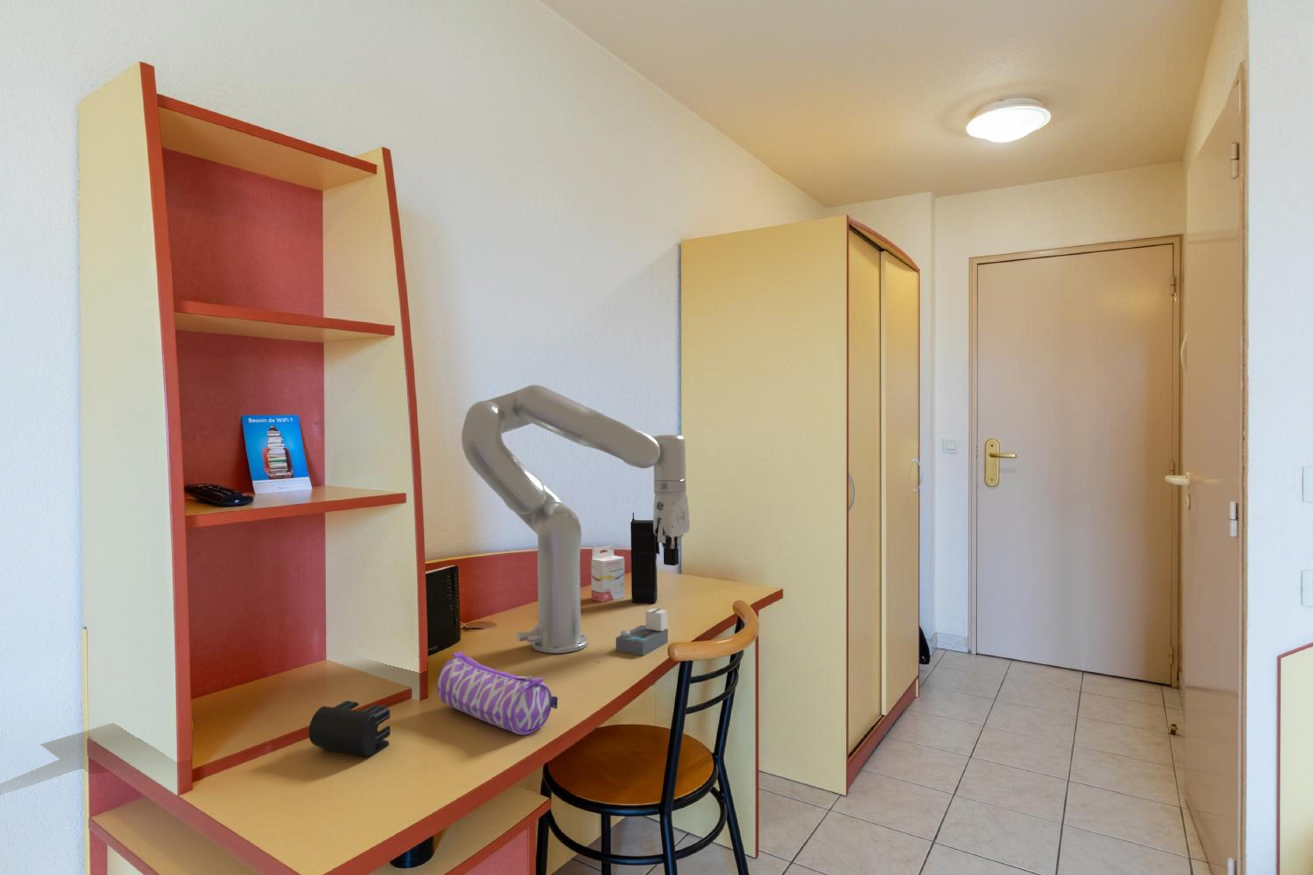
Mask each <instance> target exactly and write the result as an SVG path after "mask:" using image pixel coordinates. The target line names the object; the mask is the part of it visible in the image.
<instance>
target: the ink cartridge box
mask: <svg viewBox="0 0 1313 875" xmlns="http://www.w3.org/2000/svg"><path fill="white" fill-rule="evenodd" d="M603 550H604V551H605V552H602V551H603ZM590 563H591V566H590V567H591V572H590V573H591V576H590V577H591V579H590V580H591V586H590V587H591V600H593V601H596V602H599V603H606V602H610V601H614V600H619V598H620V599H623V598H622V597H624V598H625V556H619V555H615V545H613V544H612V545H606V546H598V547H593V548H592V549H591V562H590ZM605 601H606V602H605Z"/></svg>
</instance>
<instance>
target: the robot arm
mask: <svg viewBox="0 0 1313 875" xmlns="http://www.w3.org/2000/svg"><path fill="white" fill-rule="evenodd" d="M533 424H534V425H536V426H538V427H540V428H542V429H545V430H547V431H549V432H552V433H553V434H555V435H558V436H560V437H562V438H564V439H567V440H569V441H571V442H574V443H576V444H578V445H581V446H584V447H587V448H592V449H595V450H598V451H601V452H603V453H606V454H608V455H611V456H614V457H615V458H618V459H620V460H622V461H623V462H624V463H625V464H627V465H628V466H631V467H636V468H639V469H648V468H651V467H653V492H654V501H653V502H654V503H653V513H652V514H653V515H652V516H653V517H652V518H653V519H652V520H653V528H654V534H655V535H656V536H658V539H657V541H658V542H659V544H660V543H661V546H662V551H663V552H662V553H663V565H664V566H677V565H679V563H680V562H679V561H680V560H679V558H680V556H679V554H680V553H679V552H680V551H679V547H680V542H681V538H682V537H684V535H685V534H687V533H688V532H689V531H690V512H689V502H688V496H687V485H686V484H687V479H686V478H687V477H686V476H687V475H686V472H687V470H686V469H687V468H686V440H685V437H684V436H683V435H680V434H659V435H656V436H655V435H649V434H647V433H645V432H643V431H641V430H638V429H636V428H634V427H632V426H630V425H627V424H625V423H623V422H621V421H618V420H616V419H614V418H611V417H610V416H607V415H605V414H603V413H601V412H599V411H597V410H594V409H592V408H591V407H589V406H586V405H584V404H581V403H579V402H578V401H575V400H573V399H571V398H569V397H566V396H564V395H562V394H560V393H558V392H556V391H553V390H552V389H549V388H547V387H545V386H542V385H539V384H531V385H527V386H525V387H523V388H521V389H520V388H519V389H517V390H514V391H512V392H509V393H506V394H503V395H500V396H496V397H493V398H490V399H486V400H480V401H477V402H475V403H474V404H472V405H471V406H470V407H469V409H468V410H467V413H466V415H465V418H464V422H463V426H462V431H461V446H462V451H463V453H464V456H465V459H466V460H467V462H468V463H469V465H470V466H471V467H472V469H473V471H474V472H476V473H477V475H478V476H480V477H481V479H482V480H484V481H485V483H486V484H487V485H488V486H489V488H491V489H492V490H493V491H494V492H495V493H496V494H497V495H498V496H499V497H500V498H501V499H502V500H503V502H504V504H505V505H506V506H507V508H509V510H511V511H513V512H514V513H515V514H516V515H517V517H519V518H520V519H521V521H523V523H525V524H526V525H527V526H528V527H529V528H530V529H531V530H532V531H533V532H534V533H535V534H536V536H537V592H538V594H537V597H538V598H537V602H538V604H537V606H538V607H537V608H538V611H537V612H538V624H535V625H534V629H531V630H530V631H522V632H518V633H517V641H518V642H520V643H521V642H524V641H525V642H527V643H531V647H532V648H533V649H534V650H535V651H538V652H541V653H545V654H546V653H547V654H565V653H572V652H576V651H579V650H582V649H584V648H586V647H587V645H588V643H589V639H588V637H587V636H586V635H585V634H582V630H581V629H582V626H581V625H582V618H581V617H582V615H581V612H582V610H581V604H582V603H581V562H580V561H581V547H582V546H581V545H582V527H581V522H580V519H579V518H578V517H579V516H577V514H576V513H575V512H574V511H573V510H572V509H570V507H568V506H567V505H565V504H564V502H563V501H562V500H560V499H559V498H558V496H556V495H555V493H553V491H552V490H550V489H549V488H548V486H546V485H545V484H544V482H543V481H542V480H541V478H540V477H539V476H537V475H536V474H534V473H533V472H532V471H530V470H529V469H528V468H527V467H526V466H525V465H524V464H523V463H522V462H521V461H520V460H519V459H518V458H517V457H516V456H515V454H514V453H512V451H511V450H510V449H509V448H508V447H507V446H506V444H505V443H504V441H503V436H502V434H504V433H506V432H511V431H513V430H517V429H520V428H523V427H525V426H528V425H533Z"/></svg>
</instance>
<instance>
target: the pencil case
mask: <svg viewBox="0 0 1313 875" xmlns="http://www.w3.org/2000/svg"><path fill="white" fill-rule="evenodd" d="M450 656H451V657H454V658H451V659H450V660H448V661H447V662H446V663H445V664H444V665H443V666H442V667H441V670H440V673H439V676H438V680H437V693H438V697H439V699H440V701H441V702H442V703H444V704H445V705H448V706H449V707H451V708H453V709H455V710H458V711H460V712H463V713H465V714H467V715H470V716H471V717H473V718H475V719H479V720H480V721H483V722H485V723H488V724H491V725H493V726H495V727H498V728H501V729H503V730H506V731H510V732H512V733H514V734H515V735H516V734H517V735H522V736H528V735H531V734H532V733H534V732H536V731H538V730H541V728H542V727H543V726H544V725H545V724H546V723H547V721H548V719H549V716H550V714H551V710H552V709H554V710H555V709H558V700H559V698H558V696H553V695H552V691H551V690H550V688H549V687H548V686H547V685H546V684H545V683H544V682H543V681H544V677H537V678H536V677H535V678H533V676H532V675H528V676H518V675H514V674H511V673H508V672H505V671H503V672H502V671H499V670H496V669H494V668H491V667H488V666H485V665H483V664H481V663H479V662H477V661H476V660H474V659H473V658H472V657H470V656H468V655H465V653H464V652H463V651H457V652H453V653H451V654H450Z"/></svg>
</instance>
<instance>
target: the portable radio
mask: <svg viewBox="0 0 1313 875" xmlns="http://www.w3.org/2000/svg"><path fill="white" fill-rule="evenodd" d="M657 539H658V536H656V535H655V534H654V528H653V519H644V520H643V519H635V512H632V518H631V521H630V571H631V577H630V579H631V581H630V582H631V589H630V590H631V591H630V592H631V603H632V604H639V605H640V604H642V605H643V604H647V605H650V604H651V605H653V604H655V603H657V600H658V556H660V554H661V552H660V543H659V542H658V541H657ZM657 555H658V556H657Z"/></svg>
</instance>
